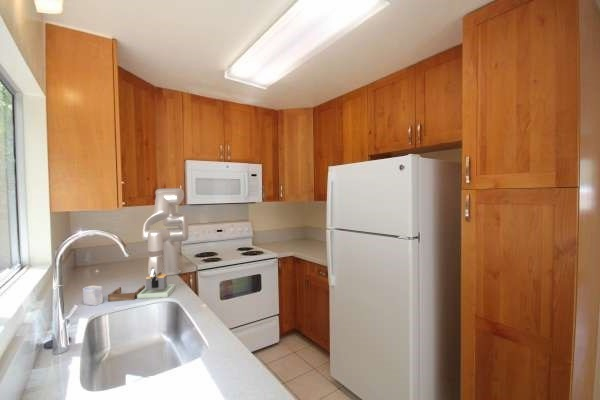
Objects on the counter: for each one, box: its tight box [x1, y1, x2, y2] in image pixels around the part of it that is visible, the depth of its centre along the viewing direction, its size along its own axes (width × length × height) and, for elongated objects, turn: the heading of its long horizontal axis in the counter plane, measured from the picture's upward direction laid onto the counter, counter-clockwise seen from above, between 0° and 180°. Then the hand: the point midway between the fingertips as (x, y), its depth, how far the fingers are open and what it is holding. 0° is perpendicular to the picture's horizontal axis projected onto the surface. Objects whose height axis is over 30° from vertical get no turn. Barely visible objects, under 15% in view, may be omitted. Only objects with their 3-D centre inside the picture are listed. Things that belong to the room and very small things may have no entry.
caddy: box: [145, 274, 168, 290], centre depth 152 cm, size 5×9×7 cm, turn 99°
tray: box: [136, 283, 176, 300], centre depth 152 cm, size 14×15×2 cm
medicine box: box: [82, 285, 104, 307], centre depth 139 cm, size 8×4×9 cm, turn 74°
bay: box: [107, 284, 146, 302], centre depth 149 cm, size 12×13×4 cm
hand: (156, 285), depth 152 cm, fingers closed on caddy, 5 cm apart
